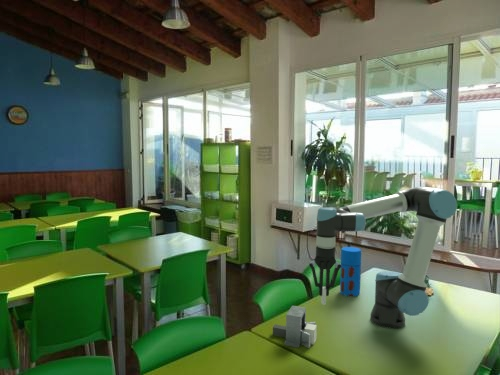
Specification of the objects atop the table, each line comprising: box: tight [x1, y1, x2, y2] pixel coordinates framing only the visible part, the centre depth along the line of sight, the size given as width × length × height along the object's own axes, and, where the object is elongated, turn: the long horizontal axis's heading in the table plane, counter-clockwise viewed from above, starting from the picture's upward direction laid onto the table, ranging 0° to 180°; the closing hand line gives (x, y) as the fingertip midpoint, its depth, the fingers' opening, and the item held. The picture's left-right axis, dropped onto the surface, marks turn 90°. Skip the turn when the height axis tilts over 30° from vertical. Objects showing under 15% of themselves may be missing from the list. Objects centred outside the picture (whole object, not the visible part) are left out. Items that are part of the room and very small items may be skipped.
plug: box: [272, 323, 318, 345], centre depth 157 cm, size 18×5×6 cm, turn 68°
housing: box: [283, 305, 317, 349], centre depth 155 cm, size 10×15×12 cm
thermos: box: [339, 246, 362, 297], centre depth 207 cm, size 11×11×25 cm
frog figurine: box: [424, 274, 434, 296], centre depth 208 cm, size 10×18×15 cm, turn 121°
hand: (323, 303), depth 151 cm, fingers closed
